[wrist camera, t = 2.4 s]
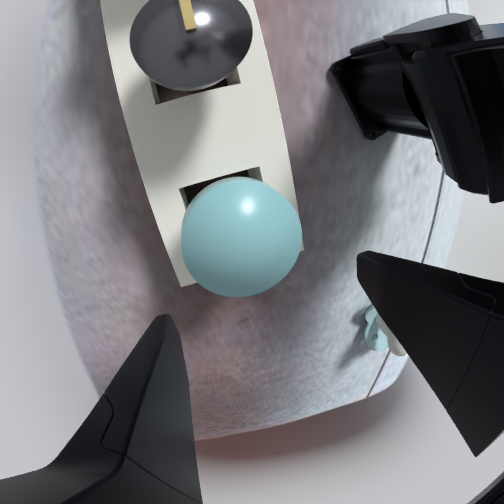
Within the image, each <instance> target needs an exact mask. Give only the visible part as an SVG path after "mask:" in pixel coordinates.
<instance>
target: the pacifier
mask: <svg viewBox="0 0 504 504" xmlns="http://www.w3.org/2000/svg"><path fill="white" fill-rule="evenodd" d="M365 319H366V320H367V322H368V324H367V326H366V328H365V333H364V338H365V341H366V344H367V345H368V347H369V348H370V349H372V350H374V351H382V350H384V349H386V348H387V347H389V349H390V350H391V352H392V353H393V354H395V355H397V356H404V355H405V354H406V351H405V350H404V348H403V347H402V345H401V344H400V343H399V341H398V340H397V339H396V337H395V336H394V335H393V333H392V332H391V331H390V329H389V328H388V327H387V325H386V324H385V323H384V321H383V320H382V318H381V317H380V316H379V314H378V313H377V311H376V309H375V308H374V306H373V305H372V306H371V307H370V308H369V309H368V310H367V311H366V313H365ZM374 334H377V337H376V339H375V340H372V336H373V335H374Z"/></svg>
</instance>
